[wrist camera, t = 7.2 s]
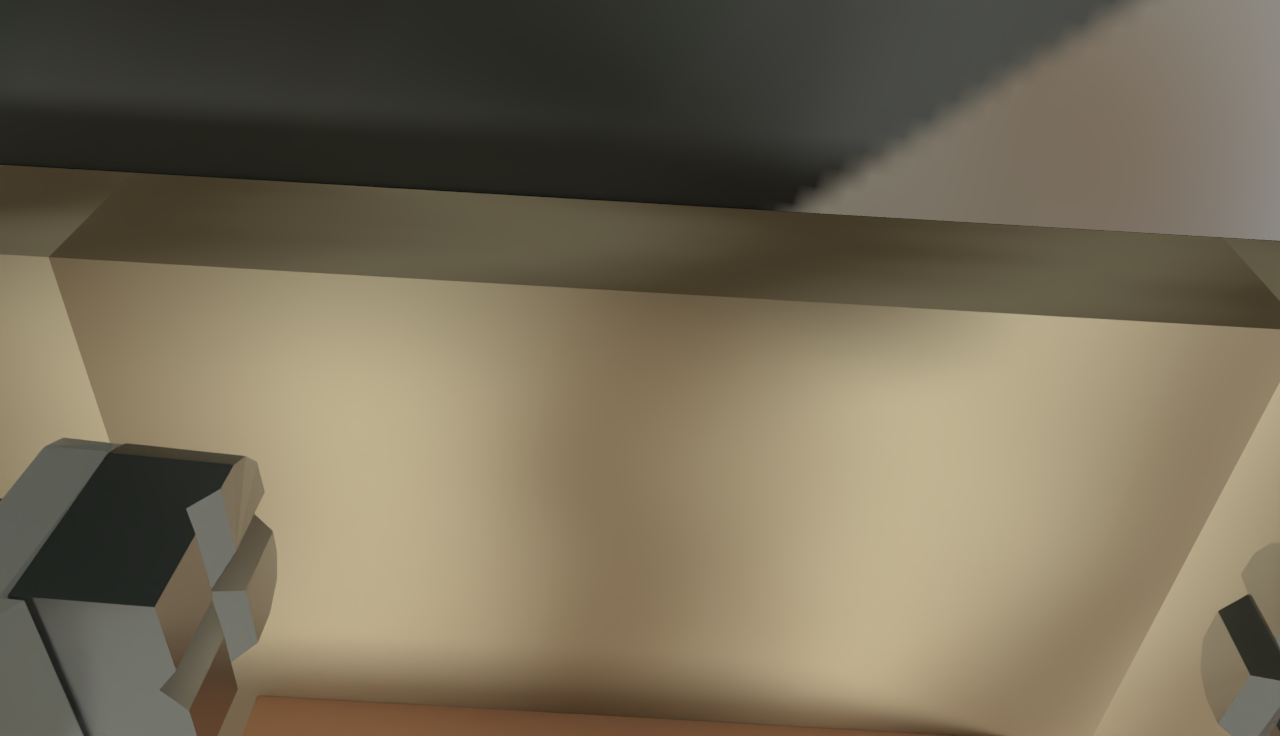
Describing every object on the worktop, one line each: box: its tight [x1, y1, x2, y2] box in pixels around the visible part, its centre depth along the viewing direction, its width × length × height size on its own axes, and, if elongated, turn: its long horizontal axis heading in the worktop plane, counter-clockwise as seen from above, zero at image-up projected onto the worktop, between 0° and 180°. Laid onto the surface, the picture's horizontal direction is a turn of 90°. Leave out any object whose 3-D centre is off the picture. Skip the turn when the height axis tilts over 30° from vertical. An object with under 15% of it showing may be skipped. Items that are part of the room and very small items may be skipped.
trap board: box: [0, 165, 1280, 736], centre depth 15 cm, size 24×15×4 cm, turn 87°
